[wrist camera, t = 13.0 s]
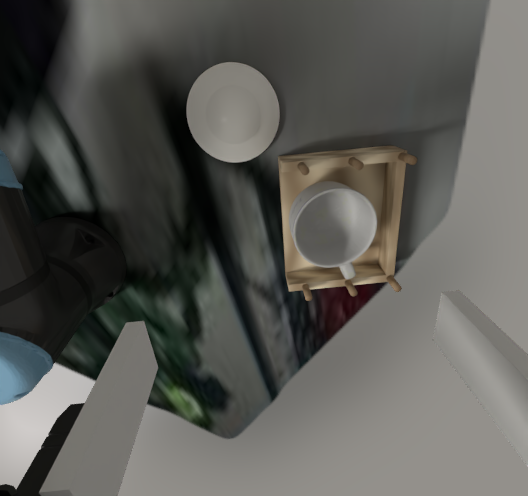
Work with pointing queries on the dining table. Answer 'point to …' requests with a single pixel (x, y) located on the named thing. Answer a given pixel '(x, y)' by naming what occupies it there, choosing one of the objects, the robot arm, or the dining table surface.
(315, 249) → the teacup
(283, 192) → the rack
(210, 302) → the dining table surface
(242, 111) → the saucer
